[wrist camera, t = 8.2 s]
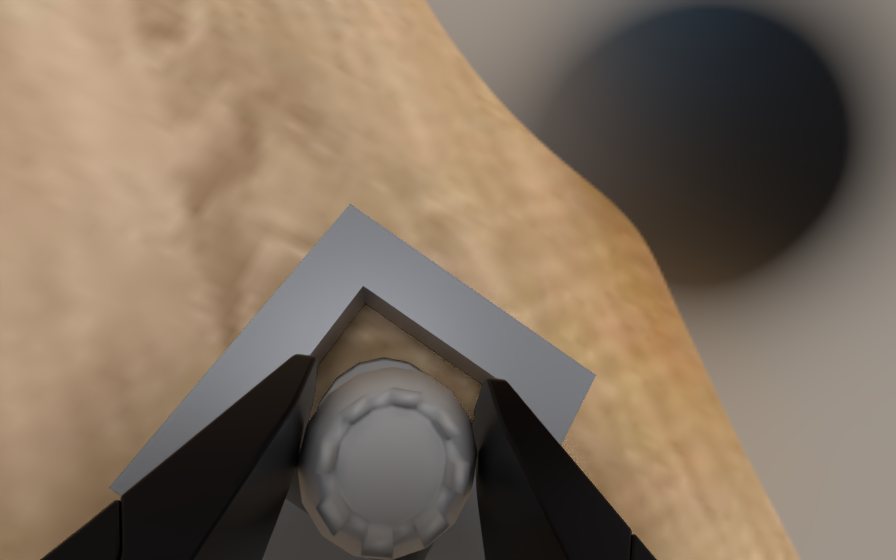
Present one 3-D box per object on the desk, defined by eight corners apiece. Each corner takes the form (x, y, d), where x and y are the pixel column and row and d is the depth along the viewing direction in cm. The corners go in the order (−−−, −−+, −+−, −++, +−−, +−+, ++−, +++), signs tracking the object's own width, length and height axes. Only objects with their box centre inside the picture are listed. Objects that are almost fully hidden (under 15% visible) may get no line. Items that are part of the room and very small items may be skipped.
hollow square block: (417, 635, 13) (429, 706, 10) (167, 464, 13) (108, 487, 10) (556, 376, 16) (596, 374, 13) (354, 235, 16) (350, 203, 13)
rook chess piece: (292, 465, 13) (181, 577, 6) (350, 340, 14) (324, 290, 7) (417, 511, 13) (475, 678, 6) (461, 384, 15) (556, 385, 7)
